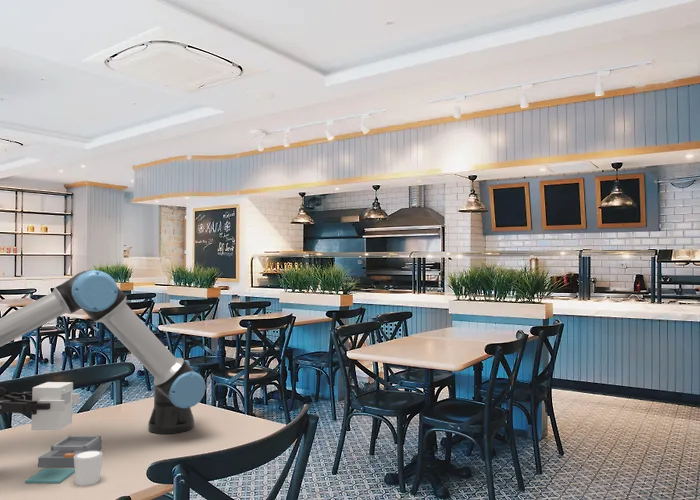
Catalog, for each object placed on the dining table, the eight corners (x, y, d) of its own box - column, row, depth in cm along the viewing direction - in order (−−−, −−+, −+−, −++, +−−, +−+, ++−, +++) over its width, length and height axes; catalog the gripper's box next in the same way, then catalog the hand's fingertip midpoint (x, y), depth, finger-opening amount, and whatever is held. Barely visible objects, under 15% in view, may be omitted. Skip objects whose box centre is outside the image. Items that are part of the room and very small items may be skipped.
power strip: (112, 439, 177) (113, 428, 178) (75, 467, 153) (75, 453, 153) (80, 439, 178) (80, 428, 178) (38, 466, 153) (38, 453, 154)
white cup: (79, 476, 146) (80, 450, 147) (106, 476, 147) (106, 449, 147) (68, 487, 140) (69, 459, 140) (96, 486, 140) (97, 458, 140)
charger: (73, 423, 150) (74, 382, 151) (59, 430, 143) (61, 387, 144) (46, 422, 150) (47, 382, 151) (31, 430, 143) (32, 387, 144)
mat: (77, 470, 151) (77, 468, 151) (59, 483, 142) (59, 481, 142) (44, 470, 151) (44, 468, 151) (25, 483, 142) (25, 480, 142)
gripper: (8, 406, 157) (89, 407, 157) (-42, 426, 137) (50, 427, 137) (9, 379, 157) (89, 380, 157) (-41, 395, 137) (51, 396, 137)
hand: (71, 402), depth 147 cm, fingers closed on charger, 7 cm apart
